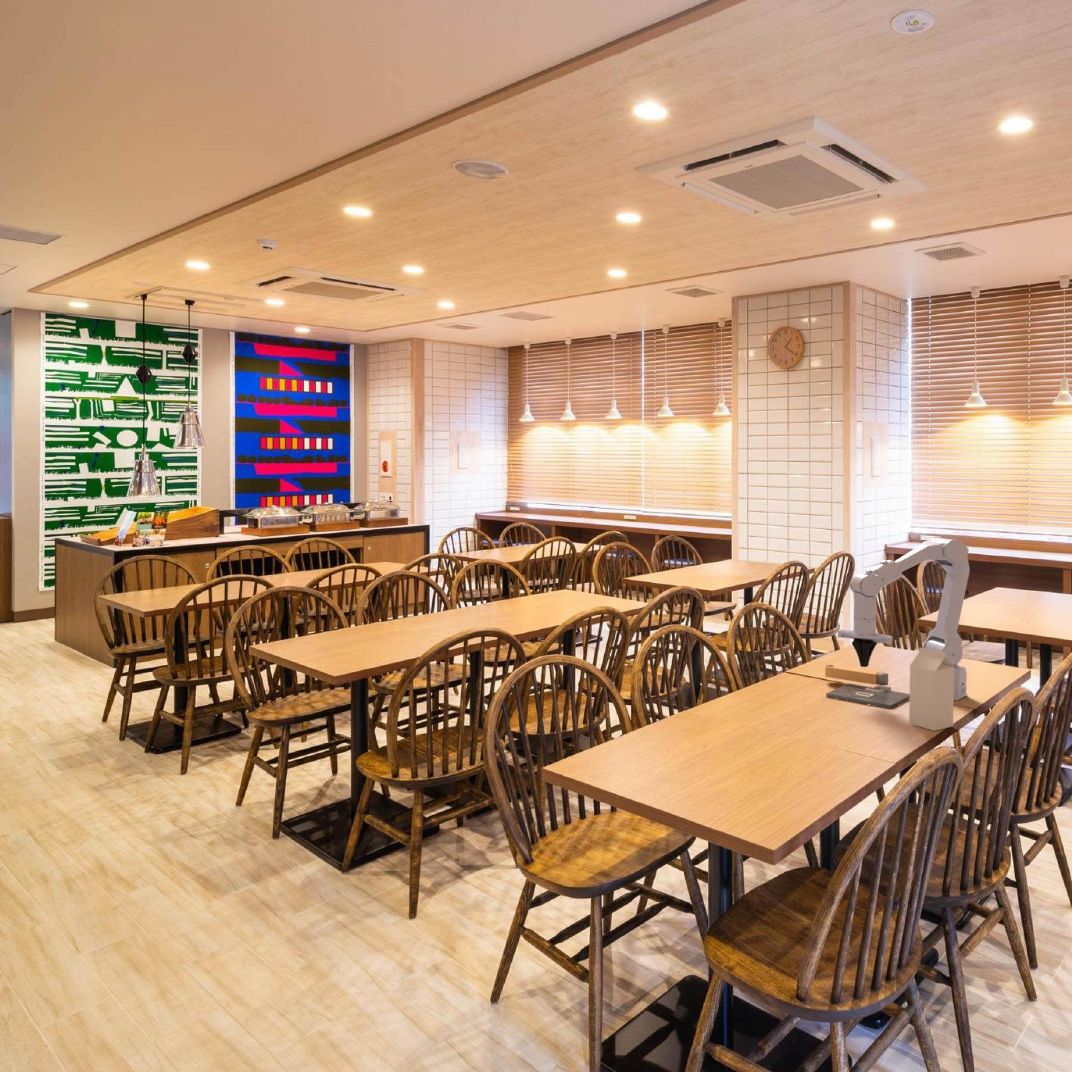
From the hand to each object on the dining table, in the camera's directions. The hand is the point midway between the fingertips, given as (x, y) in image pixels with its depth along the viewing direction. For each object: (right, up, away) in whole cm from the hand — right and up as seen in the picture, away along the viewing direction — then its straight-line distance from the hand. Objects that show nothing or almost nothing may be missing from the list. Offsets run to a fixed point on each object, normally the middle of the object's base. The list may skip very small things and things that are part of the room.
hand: (864, 666), depth 228 cm
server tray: (+4, -9, +4) cm, 11 cm away
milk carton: (+7, -11, -23) cm, 27 cm away
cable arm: (+3, -6, +14) cm, 16 cm away
